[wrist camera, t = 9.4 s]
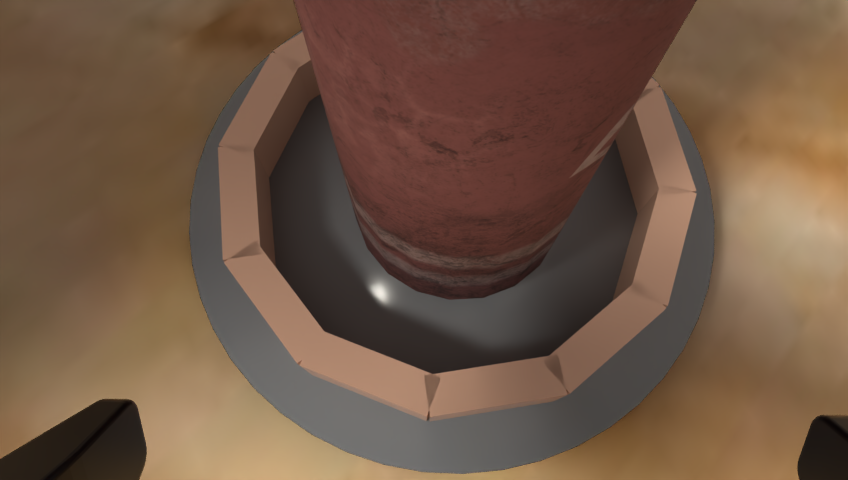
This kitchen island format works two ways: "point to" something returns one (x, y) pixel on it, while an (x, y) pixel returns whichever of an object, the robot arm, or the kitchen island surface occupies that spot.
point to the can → (477, 122)
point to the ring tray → (434, 316)
